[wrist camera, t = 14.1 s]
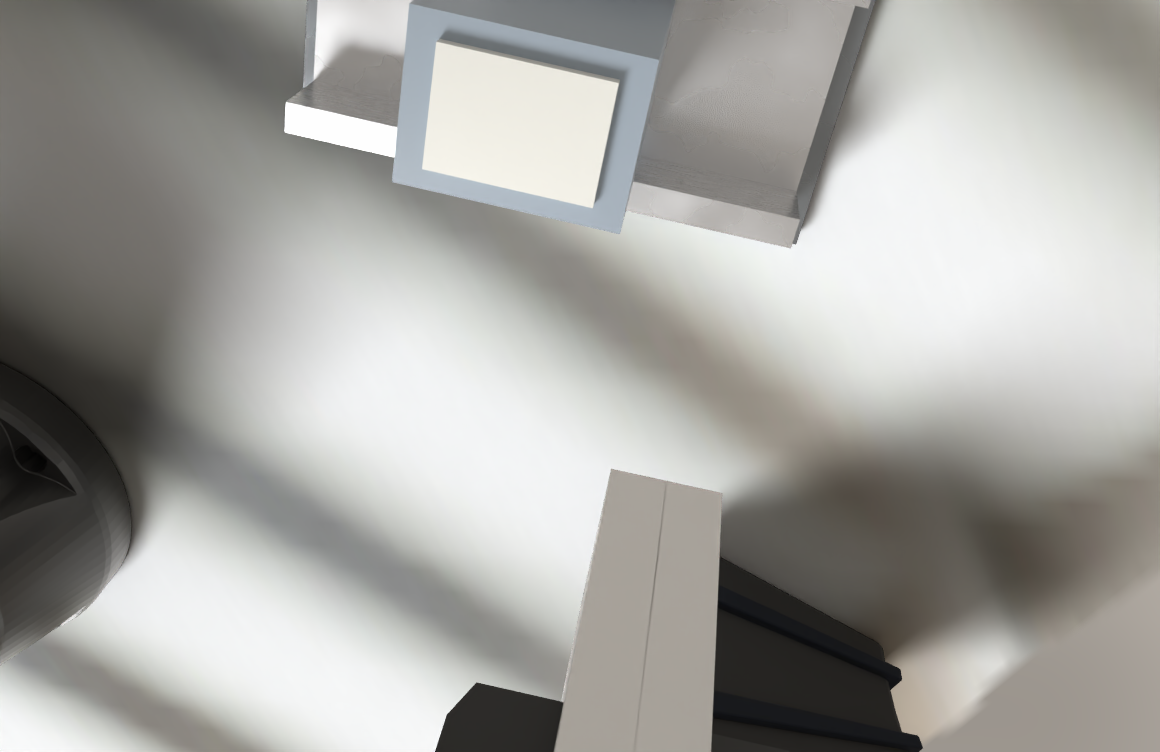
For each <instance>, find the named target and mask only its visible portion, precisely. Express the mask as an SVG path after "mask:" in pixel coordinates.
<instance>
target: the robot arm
mask: <svg viewBox="0 0 1160 752" xmlns="http://www.w3.org/2000/svg"><path fill="white" fill-rule="evenodd" d="M721 511H722V493H719V492H714V491H710V490H705V489H701V488H696V487H691V486H687V485H682V484H678V483H673V482H669V481H664V480H659V479H655V478H650V477H646V476H641V475H637V474H632V473H627V472H623V471H618V470H614V469H611V472H610V477H609V481H608V486H607V490H606V495H605V499H604V504H603V508H602V513H601V517H600V522H599V526H598V531H597V535H596V540H595V544H594V549H593V553H592V558H591V562H590V567H589V571H588V576H587V580H586V584H585V589H584V593H583V598H582V602H581V607H580V611H579V616H578V621H577V626H576V631H575V636H574V640H573V645H572V650H571V655H570V660H569V665H568V670H567V675H566V680H565V685H564V690H563V695H562V700H561V702H560V701H556V700H551V699H547V698H542V697H538V696H534V695H529V694H525V693H520V692H516V691H512V690H507V689H503V688H498V687H494V686H490V685H485V684H481V683H476V684H475V685H474V686H473V687H472V688H471V689H470V690H469V691H468V692H467V694H466V695H465V696H464V697H463V698H462V699H461V700H460V701H459V702H458V703H457V704H456V706H455V707H454V708H453V709H452V710H451V711H450V712H449V713H448V714H447V716H446V719H445V722H444V725H443V729H442V732H441V735H440V738H439V741H438V744H437V747H436V751H435V752H789V751H787V750H783V749H778V748H774V747H770V746H765V745H761V744H756V743H752V742H748V741H743V740H739V739H734V738H730V737H726V736H721V735H717V734H712V718H713V695H714V672H715V649H716V626H717V603H718V580H719V557H720V534H721ZM130 539H131V513H130V507H129V502H128V498H127V494H126V491H125V488H124V486H123V483H122V480H121V478H120V476H119V474H118V472H117V470H116V468H115V466H114V464H113V462H112V461H111V459H110V457H109V456H108V454H107V452H106V451H105V450H104V448H103V447H102V445H101V444H100V442H99V441H98V440H97V439H96V437H95V436H94V435H93V434H92V432H91V431H90V430H89V429H88V428H87V427H86V426H85V424H84V423H83V422H82V421H81V420H80V419H79V418H78V417H77V416H76V415H75V414H74V413H73V412H72V411H71V410H70V409H68V408H67V407H66V406H65V405H64V404H63V403H62V402H60V401H59V400H58V399H57V398H55V397H54V396H53V395H52V394H50V393H49V392H48V391H46V390H45V389H44V388H42V387H41V386H39V385H38V384H36V383H35V382H33V381H32V380H30V379H28V378H27V377H25V376H23V375H22V374H20V373H18V372H16V371H14V370H12V369H11V368H9V367H7V366H5V365H3V364H0V665H2V664H3V663H5V662H6V661H8V660H9V659H11V658H12V657H14V656H16V655H17V654H19V653H20V652H22V651H23V650H25V649H26V648H28V647H29V646H31V645H32V644H34V643H35V642H36V641H38V640H39V639H41V638H42V637H44V636H45V635H47V634H48V633H49V632H51V631H52V630H54V629H56V628H58V627H60V626H62V625H64V624H66V623H67V622H69V621H71V620H73V619H74V618H76V617H77V616H79V615H80V614H81V613H82V612H83V611H85V610H86V609H87V608H88V607H89V606H90V605H91V604H92V603H93V602H94V601H95V599H96V598H97V597H98V596H99V594H100V593H101V592H102V590H103V589H104V588H105V586H106V585H107V584H108V583H109V581H110V580H111V579H112V577H113V576H114V575H115V573H116V572H117V571H118V569H119V568H120V566H121V565H122V563H123V561H124V559H125V557H126V554H127V551H128V548H129V544H130Z"/></svg>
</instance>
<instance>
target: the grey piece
mask: <svg viewBox="0 0 1160 752" xmlns="http://www.w3.org/2000/svg"><path fill="white" fill-rule="evenodd" d="M412 1H413V0H307V13H306V34H305V56H304V78H303V89H302V90H301V91H300V92H298V93H297V94H296V95H294V96H293V97H292V98H290V99H289V100H288V101H286V109H285V132H286V133H290V134H295V135H299V136H303V137H308V138H312V139H316V140H321V141H325V142H329V143H334V144H338V145H342V146H347V147H351V148H356V149H360V150H364V151H369V152H373V153H377V154H382V155H386V156H390V157H395V146H396V136H397V126H398V115H399V105H400V95H401V84H402V74H403V63H404V53H405V43H406V32H407V22H408V12H409V3H410V2H412ZM874 4H875V0H676V3H675V8H674V12H673V16H672V21H671V25H670V30H669V34H668V38H667V43H666V47H665V52H664V56H663V60H662V65H661V69H660V74H659V78H658V82H657V87H656V91H655V95H654V100H653V104H652V109H651V113H650V117H649V122H648V126H647V130H646V134H645V138H644V142H643V146H642V150H641V154H640V158H639V161H638V165H637V169H636V173H635V177H634V181H633V185H632V189H631V193H630V197H629V201H628V204H627V208H626V211H630V212H635V213H639V214H643V215H648V216H652V217H657V218H661V219H665V220H670V221H674V222H678V223H683V224H687V225H691V226H696V227H700V228H705V229H709V230H713V231H718V232H722V233H726V234H731V235H735V236H739V237H744V238H748V239H752V240H757V241H761V242H766V243H770V244H774V245H779V246H783V247H787V248H791V246H792V244H796V243H797V240H798V237H799V234H800V231H801V228H802V225H803V222H804V218H805V215H806V212H807V209H808V206H809V203H810V200H811V197H812V194H813V191H814V188H815V185H816V182H817V179H818V175H819V172H820V169H821V166H822V163H823V160H824V157H825V154H826V151H827V148H828V145H829V142H830V139H831V136H832V132H833V129H834V126H835V123H836V120H837V117H838V114H839V111H840V108H841V105H842V102H843V99H844V96H845V93H846V89H847V86H848V83H849V80H850V77H851V74H852V71H853V68H854V65H855V62H856V59H857V56H858V53H859V50H860V47H861V43H862V40H863V37H864V34H865V31H866V28H867V25H868V22H869V19H870V16H871V13H872V10H873V7H874Z"/></svg>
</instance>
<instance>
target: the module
mask: <svg viewBox="0 0 1160 752" xmlns="http://www.w3.org/2000/svg"><path fill="white" fill-rule="evenodd" d="M675 3H676V0H413V1H412V2H410V3H409V12H408V22H407V32H406V43H405V53H404V63H403V74H402V84H401V95H400V105H399V115H398V126H397V136H396V146H395V157H394V167H393V178H392V182H395V183H399V184H403V185H408V186H412V187H416V188H421V189H425V190H430V191H434V192H438V193H443V194H447V195H451V196H456V197H460V198H464V199H469V200H473V201H477V202H482V203H486V204H490V205H495V206H499V207H504V208H508V209H512V210H517V211H521V212H525V213H530V214H534V215H538V216H543V217H547V218H551V219H556V220H560V221H564V222H569V223H573V224H578V225H582V226H586V227H591V228H595V229H599V230H604V231H608V232H612V233H617V234H620V232H621V228H622V224H623V220H624V216H625V212H626V208H627V204H628V201H629V197H630V193H631V189H632V185H633V181H634V177H635V173H636V169H637V165H638V161H639V158H640V154H641V150H642V146H643V142H644V138H645V134H646V130H647V126H648V122H649V117H650V113H651V109H652V104H653V100H654V95H655V91H656V87H657V82H658V78H659V74H660V69H661V65H662V60H663V56H664V52H665V47H666V43H667V38H668V34H669V30H670V25H671V21H672V16H673V12H674V8H675Z"/></svg>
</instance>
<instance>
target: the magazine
mask: <svg viewBox="0 0 1160 752" xmlns="http://www.w3.org/2000/svg"><path fill="white" fill-rule="evenodd" d="M901 680H902V676H901V670H900V669H899V668H897V667H895V666H893V665H891V664H889V663H887V662H885V658H884V652H883V648H882V647H881V646H880V645H879V644H878V643H877V642H875V641H873V640H871V639H870V638H868V637H866V636H864V635H862V634H860V633H859V632H857V631H855V630H853V629H851V628H849V627H848V626H846V625H844V624H842V623H840V622H838V621H837V620H835V619H833V618H831V617H829V616H827V615H826V614H824V613H822V612H820V611H818V610H816V609H815V608H813V607H811V606H809V605H807V604H805V603H804V602H802V601H800V600H798V599H796V598H794V597H792V596H791V595H789V594H787V593H785V592H783V591H781V590H780V589H778V588H776V587H774V586H772V585H770V584H769V583H767V582H765V581H763V580H761V579H759V578H758V577H756V576H754V575H752V574H750V573H748V572H747V571H745V570H743V569H741V568H739V567H737V566H736V565H734V564H732V563H730V562H728V561H726V560H724V559H723V558H721V557H719V580H718V603H717V626H716V649H715V672H714V695H713V718H712V734H717V735H721V736H726V737H730V738H734V739H739V740H743V741H748V742H752V743H756V744H761V745H765V746H770V747H774V748H778V749H783V750H787V751H789V752H919V751H920V750H921V749H922V748H923V747H922V744H921V741H920V739H919V737H918V736H917V735H912V734H908V733H903V732H902V731H901V728H900V724H899V721H898V718H897V714H896V711H895V708H894V703H893V699H892V695H891V691H890V690H891V689H892V688H893V687H894V686H896V685H897V684H898V683H899V682H900V681H901Z"/></svg>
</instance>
